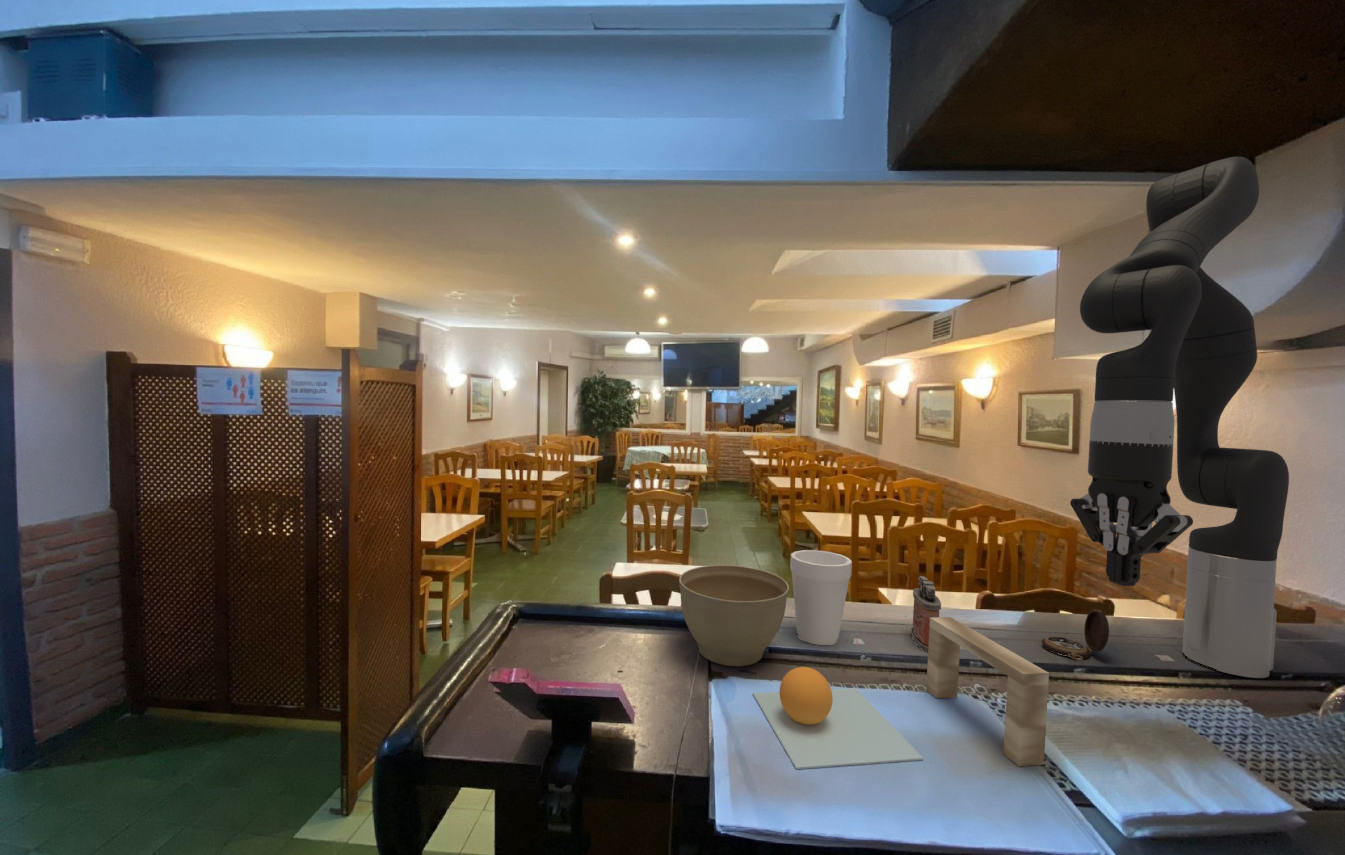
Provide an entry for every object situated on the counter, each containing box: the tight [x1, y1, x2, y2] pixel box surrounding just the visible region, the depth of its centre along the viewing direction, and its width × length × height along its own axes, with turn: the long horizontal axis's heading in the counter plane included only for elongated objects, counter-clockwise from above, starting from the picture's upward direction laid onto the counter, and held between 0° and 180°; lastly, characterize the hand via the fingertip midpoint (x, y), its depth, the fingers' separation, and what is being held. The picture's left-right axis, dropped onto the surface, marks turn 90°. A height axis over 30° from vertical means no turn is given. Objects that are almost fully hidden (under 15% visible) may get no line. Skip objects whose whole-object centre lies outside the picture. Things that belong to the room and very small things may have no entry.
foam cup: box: [789, 549, 853, 645], centre depth 84 cm, size 10×9×13 cm
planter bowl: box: [678, 564, 790, 667], centre depth 78 cm, size 16×16×11 cm
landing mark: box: [752, 687, 924, 770], centre depth 60 cm, size 14×14×1 cm
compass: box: [1041, 609, 1110, 661], centre depth 82 cm, size 8×8×7 cm
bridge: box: [925, 616, 1050, 767], centre depth 62 cm, size 3×15×10 cm, turn 9°
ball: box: [779, 666, 833, 725], centre depth 61 cm, size 6×6×6 cm
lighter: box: [910, 575, 942, 652], centre depth 84 cm, size 8×3×10 cm, turn 168°
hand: (1121, 583), depth 63 cm, fingers closed
